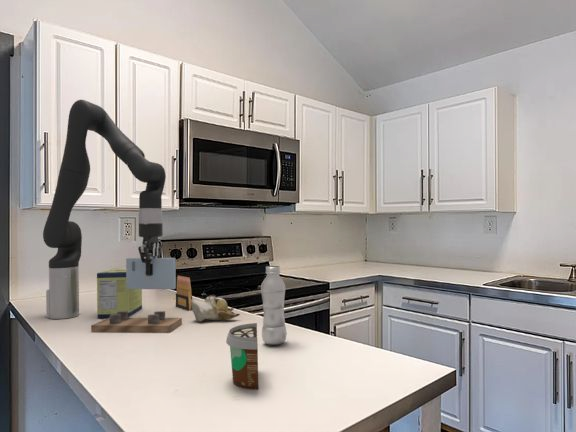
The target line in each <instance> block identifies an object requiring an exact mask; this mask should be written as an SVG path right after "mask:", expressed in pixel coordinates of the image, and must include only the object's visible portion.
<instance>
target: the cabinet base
mask: <svg viewBox="0 0 576 432" xmlns="http://www.w3.org/2000/svg"><path fill="white" fill-rule="evenodd" d="M181 324H182V325H183V318H182V317H166V311H164V310H163V311H162V310H161V311H158V310H156V311H154V312H153V313H152V314H148V315H147V317H128V311H118V312H117V314H111V315H110V318H104V319H101V320H100V321H97V322H96V323H94V324H93V323H92V324H91V326H90V327H91V330H90V331H91V332H90V333H138V334H139V333H148V334H150V333H152V334H153V333H154V334H157V333H160V334H161V333H163V334H164V333H165V332H166V333H167V334H168V332H169V334H170V333H172V332H173V331H175V330H176V329H177V328H178V327H180V326H182V325H181ZM166 333H165V334H166Z"/></svg>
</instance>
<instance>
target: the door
mask: <svg viewBox="0 0 576 432" xmlns="http://www.w3.org/2000/svg"><path fill="white" fill-rule="evenodd" d="M125 262H126V265H125V268H126V289H142V290H175V289H177V277H176V276H177V275H176V273H177V272H176V268H177V265H176V263H177V262H176V257H160V258H153V275H151V276H147V275H146V264H144V263H142V260H141V257H128V258H126V259H125Z"/></svg>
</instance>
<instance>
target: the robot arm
mask: <svg viewBox="0 0 576 432" xmlns="http://www.w3.org/2000/svg"><path fill="white" fill-rule="evenodd" d="M89 131H90V132H91V131H92V132H94V133H96V134H98V135H99V136H100V137H101V138H104V139H105V140H106V142H107V143H108V145H109V147H110V150H111V151H112V152H113V154H114V155H115V156H116V157H117V158H119V160H120V161H122V162H123V163H124V164H125V165H126V166H127V168H128V169H129V171H130V173H131V174H132V176H133V177H134V178H135V179H136V180H138V181H140V182H141V183H146V186H145V190H142V191H140V193H139V198H138V199H139V200H138V203H139V204H138V205H139V206H138V208H139V210H138V237H139V238H142V243H141V244H142V245H141V246H138V247H137V248H138V249H137V250H138V253H139V256H140V257H139V258H141V260H142V263H144V264H146V275H147V276H151V275H153V258H161V254H162V248H163V244H162V243H161V244H160V243H159V238H161V237H163V235H164V233H163V232H164V231H163V230H164V229H163V228H164V227H163V225H164V224H163V211H162V206H163V205H162V195H163V192H164V188H165V183H166V179H167V177H166V170H165V168H164V167H163V165H161V164H160V163H158V162H152V161H149V160H148V159H147V158H146V156H145V153H144V151H143V150H142V149H141V148H140V147H139V146H138V145H136V144H135V142H133V141H132V140H131V139H130V138H129V137H128V136H126V134H124V132H123V131H122V130H121V129H120V128H119V127H118V126H117V124H116V123H115V121H114V120H113V119H112V118H111V116H109V114H108V113H107V111H106V110H105V109H104V108H103V107H102V106H100V105H97V104H95V103H93V102H90V101H87V100H85V99H77V100H76V101H74V103H73V104H72V105H71V107H70V110H69V113H68V119H67V130H66V138H65V144H64V150H63V156H62V159H61V164H60V168H59V171H58V175H57V176H58V177H57V182H56V187H55V191H54V195H53V200H52V203H51V207H50V209H49V213H48V216H47V218H46V221H45V223H44V227H43V231H42V239H43V242H44V244H45V245H46V246H47V247H48V248H52V249H57V250H56V251H57V252H56V254H55V255H54V256H53V257H51V258H50V259H49V261H48V289H47V290H46V292H45V295H46V301H45V302H46V306H45V308H46V311H45V312H46V318H47V319H52V320H59V319H60V320H63V319H64V320H65V319H70V318H74V317H78V316H80V273H79V272H80V269H79V267H80V266H79V265H80V264H79V263H80V260H81V257H82V246H83V245H82V244H83V243H82V242H83V241H82V240H83V237H82V236H83V235H82V229H81V228H80V226H79V224H78V223H76V222H75V221H73V220H72V221H71V220H70V217H71V212H72V210H73V208H74V207H75V205H76V204H77V202H78V201H79V200H80V198H81V197H82V195H83V194H84V193H85V191H86V189H87V187H88V183H89V177H90V174H91V164H90V159H89V158H90V157H89V155H88V150H87V146H86V142H87V136H88V132H89Z"/></svg>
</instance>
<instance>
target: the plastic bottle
mask: <svg viewBox="0 0 576 432" xmlns="http://www.w3.org/2000/svg"><path fill="white" fill-rule="evenodd" d="M280 274H281V266H280V265H268V266H267V265H266V266H265V275H266V277H264V279H263V281H262V283H261V285H260V292H261V299H262V307H263V309H262V310H263V319H262V320H263V321H262V328H261V338H262V342H263V343H264V344H266V345H271V346H273V345H274V346H276V345H282V344H284V343H285V341H286V340H287V334H288V333H287V327H286V320H285V296H286V284H285V282H284V280H283V279H282V277H281V276H280Z"/></svg>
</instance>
